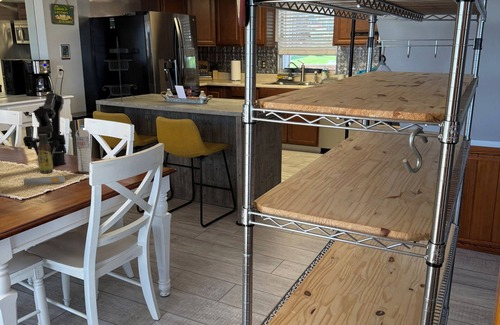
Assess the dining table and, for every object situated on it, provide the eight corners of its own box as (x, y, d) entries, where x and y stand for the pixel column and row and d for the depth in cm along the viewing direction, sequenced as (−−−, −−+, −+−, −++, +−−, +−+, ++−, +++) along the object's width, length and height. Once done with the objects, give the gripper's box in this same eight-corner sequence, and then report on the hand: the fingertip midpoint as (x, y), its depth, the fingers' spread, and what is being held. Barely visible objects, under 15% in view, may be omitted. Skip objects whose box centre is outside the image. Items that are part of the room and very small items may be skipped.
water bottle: (75, 171, 237) (71, 125, 231) (85, 168, 243) (82, 123, 237) (84, 173, 234) (81, 126, 228) (94, 170, 240) (91, 124, 234)
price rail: (24, 185, 212) (23, 179, 211) (24, 185, 213) (23, 178, 212) (64, 182, 217) (63, 176, 216) (64, 182, 218) (64, 175, 217)
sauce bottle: (37, 174, 218) (32, 134, 213) (44, 171, 224) (39, 132, 219) (49, 175, 218) (44, 135, 213) (56, 171, 224) (51, 132, 219)
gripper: (21, 120, 215) (20, 147, 208) (62, 118, 221) (63, 145, 213) (26, 133, 224) (24, 159, 217) (65, 131, 230) (65, 157, 223)
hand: (44, 154), depth 217 cm, fingers closed on sauce bottle, 6 cm apart
